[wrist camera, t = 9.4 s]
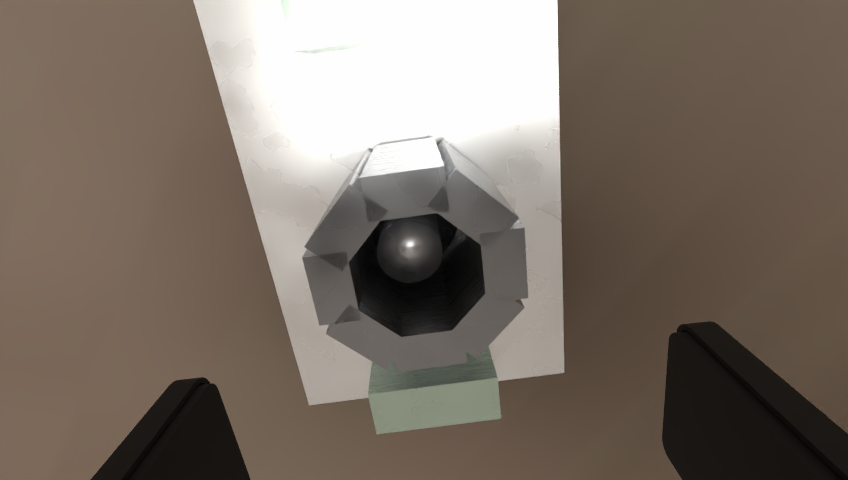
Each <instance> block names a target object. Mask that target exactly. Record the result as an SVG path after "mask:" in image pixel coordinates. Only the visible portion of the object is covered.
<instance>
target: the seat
mask: <svg viewBox="0 0 848 480" xmlns="http://www.w3.org/2000/svg"><path fill="white" fill-rule="evenodd" d="M194 4H195V7H196V11H197V14H198V18H199V21H200V25H201V28H202V32H203V35H204V39H205V42H206V46H207V49H208V53H209V56H210V60H211V63H212V67H213V70H214V74H215V77H216V81H217V84H218V88H219V91H220V95H221V98H222V102H223V105H224V109H225V112H226V116H227V119H228V123H229V126H230V130H231V133H232V137H233V140H234V144H235V147H236V151H237V154H238V158H239V161H240V165H241V168H242V172H243V175H244V179H245V182H246V186H247V189H248V193H249V196H250V200H251V203H252V207H253V210H254V214H255V217H256V221H257V224H258V228H259V231H260V235H261V238H262V242H263V245H264V249H265V252H266V256H267V259H268V263H269V266H270V270H271V273H272V277H273V280H274V284H275V287H276V291H277V294H278V298H279V301H280V305H281V308H282V312H283V315H284V319H285V322H286V326H287V329H288V333H289V336H290V340H291V343H292V347H293V350H294V354H295V357H296V361H297V364H298V368H299V371H300V375H301V378H302V382H303V385H304V389H305V392H306V396H307V399H308V403H309V405H315V404H323V403H331V402H339V401H347V400H354V399H362V398H369V402H370V407H371V411H372V416H373V420H374V425H375V429H376V434H383V433H391V432H399V431H407V430H415V429H423V428H431V427H439V426H447V425H455V424H463V423H471V422H479V421H486V420H494V419H501V410H500V399H499V387H498V381H503V380H511V379H519V378H527V377H535V376H542V375H550V374H558V373H564V329H563V278H562V227H561V176H560V125H559V74H558V22H557V0H194ZM432 137H434V139H435V142H436V145H437V146H438V144H439V143H440V142H441V140H444V141H445V142H446V143H447V144H449V145H450V146H451V147H452V148H454V149H455V150H456V151H458V152H459V153H460V154H461V155H463V156H464V157H465V158H467V159H468V160H469V161H470V162H472V163H473V164H474V165H475V166H477V167H478V168H479V169H481V170H482V171H483V172H484V173H486V174H487V175H488V176H489V178H490V179H491V180H492V182H493V183H494V184H495V186H496V187H497V188H498V190H499V191H500V192H501V194H502V195H503V196H504V198H505V199H506V200H507V202H508V203H509V204H510V206H511V207H512V208H513V210H514V211H515V212H516V214H517V215H518V216H519V221H520V222H521V223H522V225H523V226H524V227H525V244H526V263H527V282H528V298H526V299H521V301H522V303H523V305H524V307H525V308H524V309H523V310H522V311H521V312H520V313H519V314H518V315H517V316H516V317H515V318H514V319H513V321H512V322H511V323H510V324H509V325H508V326H507V327H506V328H505V329H504V330H503V331H502V332H501V333H500V334H499V335H498V336H497V337H496V338H495V340H494V341H493V342H492V343H491V344H490V345H489V346H488V347H487V348H486V349H485V350H484V351H483V352H482V353H481V354H480V355H479V356H478V357H477V358H475V357H474V356H472V355H471V354H469V353H468V352H466V356H467V363H463V364H455V365H448V366H440V367H432V368H425V369H417V370H409V371H401V372H397V371H396V366H395V361H394V362H393V363H392V364H391V365H390V366H389V368H388V369H387V370H385V369H384V368H382V367H380V366H379V365H377V364H375V363H374V362H372V361H370V360H369V359H367V358H365V357H364V356H362V355H360V354H359V353H357V352H355V351H354V350H352V349H350V348H349V347H347V346H345V345H344V344H342V343H340V342H339V341H337V340H335V339H334V338H332V337H330V336H329V335H327V334H326V332H327V329H328V325H321V326H319V322H318V318H317V314H316V310H315V306H314V302H313V299H312V295H311V291H310V287H309V283H308V279H307V275H306V271H305V267H304V263H303V259H302V257H303V255H304V253H305V252H306V250H307V249H306V248H305V247H304V246H305V244H306V243H307V241H308V239H309V238H310V236H311V235H312V233H313V231H314V230H315V228H316V226H317V225H318V223H319V221H320V220H321V218H322V216H323V215H324V213H325V211H326V210H327V208H328V206H329V205H330V203H331V201H332V200H333V198H334V196H335V195H336V193H337V192H338V191H339V189H340V188H341V186H342V185H343V184H344V182H345V181H346V179H347V178H348V177H349V175H350V174H351V172H352V171H353V170H354V168H355V167H356V165H357V164H358V163H359V161H360V160H361V158H362V157H363V156H364V154H365V153H366V151H367V150H368V151H370V152H371V153H372V151H373V149H374V146H375V145H382V144H389V143H396V142H403V141H410V140H418V139H425V138H432ZM462 233H463V231H461V230H460V229H458V228H457V227H456V226H454V225H453V224H452V223H450V222H449V221H447V220H446V219H445V218H443V217H442V216H441V215H439V214H438V213H434V214H426V215H419V216H412V217H404V218H397V219H390V220H382V221H380V222H379V223H378V225H377V226H376V227H375V229H374V230H373V231H372V233H371V236H372V241H373V244H374V245H376V246H377V258H378V262H379V264H380V266H381V268H382V269H383V271H384V272H385V273H386V274H387V275H389V276H390V277H391V278H393V279H395V280H397V281H401V282H406V283H413V282H419V281H422V280H424V279H426V278H428V277H430V276H431V275H432V274H433V273H434V272H435V271H436V270H437V268H438V267H439V265H440V263H441V260H442V257H443V256H444V255H445V254H446V252H447V251H448V250H449V249H450V248H451V246H452V245H453V244H454V243H455V242H456V240H457V239H458V238H459V237H460V236H461V235H462Z"/></svg>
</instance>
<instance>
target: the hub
mask: <svg viewBox="0 0 848 480" xmlns="http://www.w3.org/2000/svg"><path fill="white" fill-rule="evenodd" d="M434 213H438V214H439V215H441V216H442V217H443V218H445V219H446V220H447V221H449V222H450V223H452V224H453V225H454V226H456V227H457V228H458V229H460V230H461V231H463V233H462V235H461V236H460V237H459V238H458V239H457V240H456V242H455V243H454V244H453V245H452V246H451V248H450V249H449V250H448V251H447V252H446V254H445V255H444V256H443V257H442V260H441V263H440V265H439V267H438V268H437V270H436V271H435V272H434V273H433V274H432V275H431V276H430V277H428V278H426V279H424V280H422V281H419V282H413V283H406V282H401V281H397V280H395V279H393V278H391V277H390V276H389V275H387V274H386V273H385V272H384V271H383V269H382V268H381V266H380V264H379V262H378V258H377V246H376V245H374V244H373V241H372V236H371V233H372V231H373V230H374V229H375V227H376V226H377V225H378V223H379V222H380V221H382V220H390V219H397V218H404V217H412V216H419V215H426V214H434ZM304 247H305V248H306V249H307V250H306V252H305V253H304V255H303V257H302V259H303V263H304V267H305V271H306V275H307V279H308V283H309V287H310V291H311V295H312V299H313V302H314V306H315V310H316V314H317V318H318V322H319V326H321V325H328V329H327V332H326V334H327V335H329V336H330V337H332V338H334V339H335V340H337V341H339V342H340V343H342V344H344V345H345V346H347V347H349V348H350V349H352V350H354V351H355V352H357V353H359V354H360V355H362V356H364V357H365V358H367V359H369V360H370V361H372V362H374V363H375V364H377V365H379V366H380V367H382V368H384V369H385V370H387V369H388V368H389V366H390V365H391V364H392V363H393V362H394V361H395V366H396V371H397V372H401V371H409V370H417V369H425V368H432V367H440V366H448V365H455V364H463V363H467V356H466V352H468V353H469V354H471V355H472V356H474V357H475V358H477V357H478V356H479V355H480V354H481V353H482V352H483V351H484V350H485V349H486V348H487V347H488V346H489V345H490V344H491V343H492V342H493V341H494V340H495V338H496V337H497V336H498V335H499V334H500V333H501V332H502V331H503V330H504V329H505V328H506V327H507V326H508V325H509V324H510V323H511V322H512V321H513V319H514V318H515V317H516V316H517V315H518V314H519V313H520V312H521V311H522V310H523V309H524V308H525V307H524V305H523V303H522V301H521V299H526V298H528V282H527V263H526V244H525V227H524V226H523V225H522V223H521V222H520V221H519V216H518V215H517V214H516V212H515V211H514V210H513V208H512V207H511V206H510V204H509V203H508V202H507V200H506V199H505V198H504V196H503V195H502V194H501V192H500V191H499V190H498V188H497V187H496V186H495V184H494V183H493V182H492V180H491V179H490V178H489V176H488V175H487V174H486V173H484V172H483V171H482V170H481V169H479V168H478V167H477V166H475V165H474V164H473V163H472V162H470V161H469V160H468V159H467V158H465V157H464V156H463V155H461V154H460V153H459V152H458V151H456V150H455V149H454V148H452V147H451V146H450V145H449V144H447V143H446V142H445V141H444V140H441V142H440V143H439V144H438V146H437V145H436V142H435V139H434V137H432V138H425V139H418V140H410V141H403V142H396V143H389V144H382V145H375V146H374V149H373V151H372V153H371V152H370V151H368V150H367V151H366V153H365V154H364V156H363V157H362V158H361V160H360V161H359V163H358V164H357V165H356V167H355V168H354V170H353V171H352V172H351V174H350V175H349V177H348V178H347V179H346V181H345V182H344V184H343V185H342V186H341V188H340V189H339V191H338V192H337V193H336V195H335V196H334V198H333V200H332V201H331V203H330V205H329V206H328V208H327V210H326V211H325V213H324V215H323V216H322V218H321V220H320V221H319V223H318V225H317V226H316V228H315V230H314V231H313V233H312V235H311V236H310V238H309V239H308V241H307V243H306V244H305V246H304Z"/></svg>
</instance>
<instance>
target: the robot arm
mask: <svg viewBox="0 0 848 480" xmlns="http://www.w3.org/2000/svg"><path fill="white" fill-rule="evenodd" d="M662 441H663V446H664V449H665V452H666V454H667V456H668V458H669V460H670V461H671V463H672V464H673V466H674V467H675V469H676V471H677V472H678V474H679V475H680V477H681V478H682V480H848V434H847V433H846V432H845V431H844V430H842V429H841V428H840V427H839V426H838V425H836V424H835V423H834V422H833V421H832V420H831V419H829V418H828V417H827V416H826V415H825V414H823V413H822V412H821V411H820V410H819V409H817V408H816V407H815V406H814V405H813V404H812V403H810V402H809V401H808V400H807V399H806V398H804V397H803V396H802V395H801V394H800V393H798V392H797V391H796V390H795V389H794V388H792V387H791V386H790V385H789V384H788V383H787V382H785V381H784V380H783V379H782V378H781V377H779V376H778V375H777V374H776V373H775V372H773V371H772V370H771V369H770V368H769V367H768V366H766V365H765V364H764V363H763V362H762V361H760V360H759V359H758V358H757V357H756V356H754V355H753V354H752V353H751V352H750V351H748V350H747V349H746V348H745V347H744V346H743V345H741V344H740V343H739V342H738V341H737V340H735V339H734V338H733V337H732V336H731V335H729V334H728V333H727V332H726V331H725V330H724V329H722V328H721V327H720V326H719V325H718V324H716V323H714V322H710V321H709V322H700V323H691V324H682V325H680V326H679V327H678V329H677V333H672V334H671V335H670V337H669V347H668V361H667V376H666V390H665V404H664V419H663V433H662ZM91 480H250V477H249V474H248V471H247V469H246V466H245V463H244V460H243V457H242V455H241V452H240V449H239V446H238V443H237V441H236V438H235V435H234V432H233V430H232V427H231V424H230V421H229V418H228V416H227V413H226V410H225V407H224V404H223V402H222V399H221V396H220V393H219V390H218V388H217V386H216V385H215V384H210V382H209V381H208V380H207V379H206V378H203V377H202V378H193V379H184V380H177V381H174V382H173V383H172V384H170V386H169V387H168V388H167V389H166V390H165V391H164V393H163V394H162V395H161V396H160V397H159V399H158V400H157V401H156V402H155V403H154V405H153V406H152V407H151V408H150V409H149V411H148V412H147V413H146V414H145V415H144V417H143V418H142V419H141V420H140V421H139V423H138V424H137V425H136V426H135V427H134V429H133V430H132V431H131V432H130V433H129V435H128V436H127V437H126V438H125V439H124V441H123V442H122V443H121V444H120V445H119V446H118V448H117V449H116V450H115V451H114V452H113V454H112V455H111V456H110V457H109V458H108V460H107V461H106V462H105V463H104V464H103V466H102V467H101V468H100V469H99V470H98V472H97V473H96V474H95V475H94V476H93V478H92V479H91Z"/></svg>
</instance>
